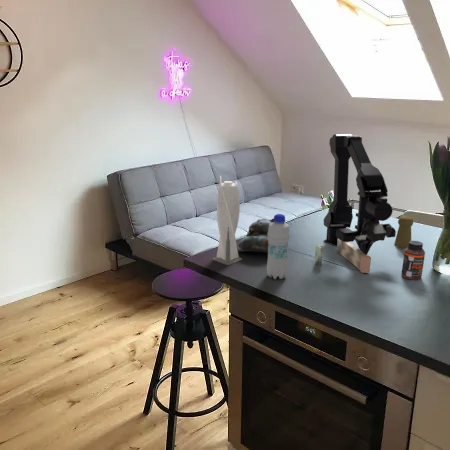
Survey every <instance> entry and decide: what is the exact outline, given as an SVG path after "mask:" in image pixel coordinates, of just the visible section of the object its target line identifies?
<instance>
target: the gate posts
mask: <svg viewBox="0 0 450 450" xmlns="http://www.w3.org/2000/svg"><path fill="white" fill-rule="evenodd" d="M341 242H342V241H341V240H340V239H338V241H337V246H336V254H337V255H341ZM323 256H324V246H323V245H316V246H315V256H314V265H315V266H322V265H323Z"/></svg>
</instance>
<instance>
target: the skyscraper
mask: <svg viewBox="0 0 450 450" xmlns="http://www.w3.org/2000/svg"><path fill="white" fill-rule="evenodd" d="M238 184H239V183H238V181H237V180H235V181H234V182H233V181H231V180H225V181H223V182H222V175H219V184H218V185H219V186H218V191H217V198H216V199H217V200H216V218H217V220H216V221H217V227H218V231H219V241H218V247H217V251H216V257H213V258H212V261H214V262H218V263H220V264H223V265H225V266H230V265H233V264H235V263H237V262H238V263H239V262H240V261H243V258H241V257H240V256H239V251H238V250H237V249H238V244H237V239H236V235H235V234H236V231H237V229H238V225H239V219H240V212H241V211H240V209H241V208H240V207H241V206H240V202H241V201H240V193H239V187H238V186H239V185H238Z"/></svg>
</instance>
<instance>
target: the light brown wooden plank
mask: <svg viewBox="0 0 450 450" xmlns="http://www.w3.org/2000/svg"><path fill="white" fill-rule="evenodd" d="M340 255H341V256H343V258H345V259H346V260H347V261H348V262H350V263H351V264H352V265H353V266H354V267H356V268H357V269H358V270H359V271H360V272H361V273H362V274H365V273H367V274H368V273H371V272H370V271H371V262H372V257H371V256H369V255H368V254H367V255H366V254H364V253H363V252H362V251H360V250H359V247H358V248H357V247H356V246H355V245H353V243H352V242H343V241H342V242H341V254H340Z"/></svg>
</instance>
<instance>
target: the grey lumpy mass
mask: <svg viewBox="0 0 450 450" xmlns="http://www.w3.org/2000/svg"><path fill="white" fill-rule="evenodd" d="M273 222H274V218H271V219H269V218H259V219H257V220H256V221H254V222H252V223H251V224H250V225H249V226H248V232H247V233H246V235H245V237H243V238H242V239H241V240H240V241H239V243H238V244H237V250H238V253H242V252H257V253H264V254H265V253H266V254H268V242H269V241H268V239H267V238H268V235H267V234H268V229H269V224H270V223H273Z"/></svg>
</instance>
